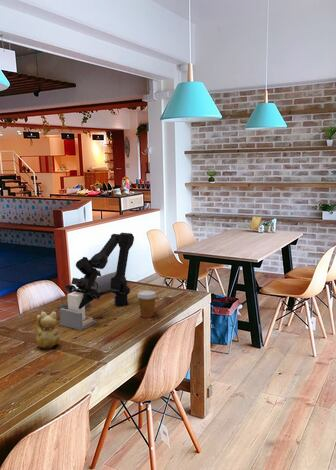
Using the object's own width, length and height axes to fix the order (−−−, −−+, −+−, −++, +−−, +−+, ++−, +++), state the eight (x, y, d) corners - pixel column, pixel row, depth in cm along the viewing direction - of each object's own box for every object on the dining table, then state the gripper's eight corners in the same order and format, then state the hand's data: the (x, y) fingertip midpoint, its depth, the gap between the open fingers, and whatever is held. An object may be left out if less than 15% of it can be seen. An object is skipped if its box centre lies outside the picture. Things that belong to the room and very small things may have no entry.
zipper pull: (54, 306, 209) (77, 291, 233) (55, 319, 210) (77, 303, 234) (71, 308, 207) (92, 292, 231) (71, 321, 208) (92, 304, 232)
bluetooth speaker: (114, 284, 269) (113, 269, 267) (125, 287, 263) (125, 271, 262) (88, 294, 251) (87, 277, 249) (99, 296, 245) (99, 280, 244)
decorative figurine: (60, 341, 183) (58, 308, 181) (59, 349, 175) (57, 315, 173) (37, 343, 182) (35, 310, 179) (35, 352, 174) (32, 317, 171)
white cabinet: (77, 316, 207) (76, 291, 205) (86, 318, 204) (85, 292, 202) (68, 320, 202) (67, 294, 200) (78, 322, 199) (76, 296, 197)
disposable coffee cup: (160, 315, 214) (160, 292, 212) (147, 320, 207) (146, 296, 205) (147, 310, 220) (147, 288, 218) (134, 315, 214) (133, 292, 212)
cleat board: (76, 317, 212) (75, 302, 210) (96, 322, 205) (95, 306, 204) (60, 324, 203) (59, 308, 201) (80, 330, 196) (79, 313, 194)
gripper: (66, 268, 207) (50, 296, 200) (95, 273, 197) (79, 302, 190) (78, 280, 215) (63, 307, 208) (106, 285, 205) (92, 313, 198)
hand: (74, 307), depth 200 cm, fingers closed on white cabinet, 6 cm apart
